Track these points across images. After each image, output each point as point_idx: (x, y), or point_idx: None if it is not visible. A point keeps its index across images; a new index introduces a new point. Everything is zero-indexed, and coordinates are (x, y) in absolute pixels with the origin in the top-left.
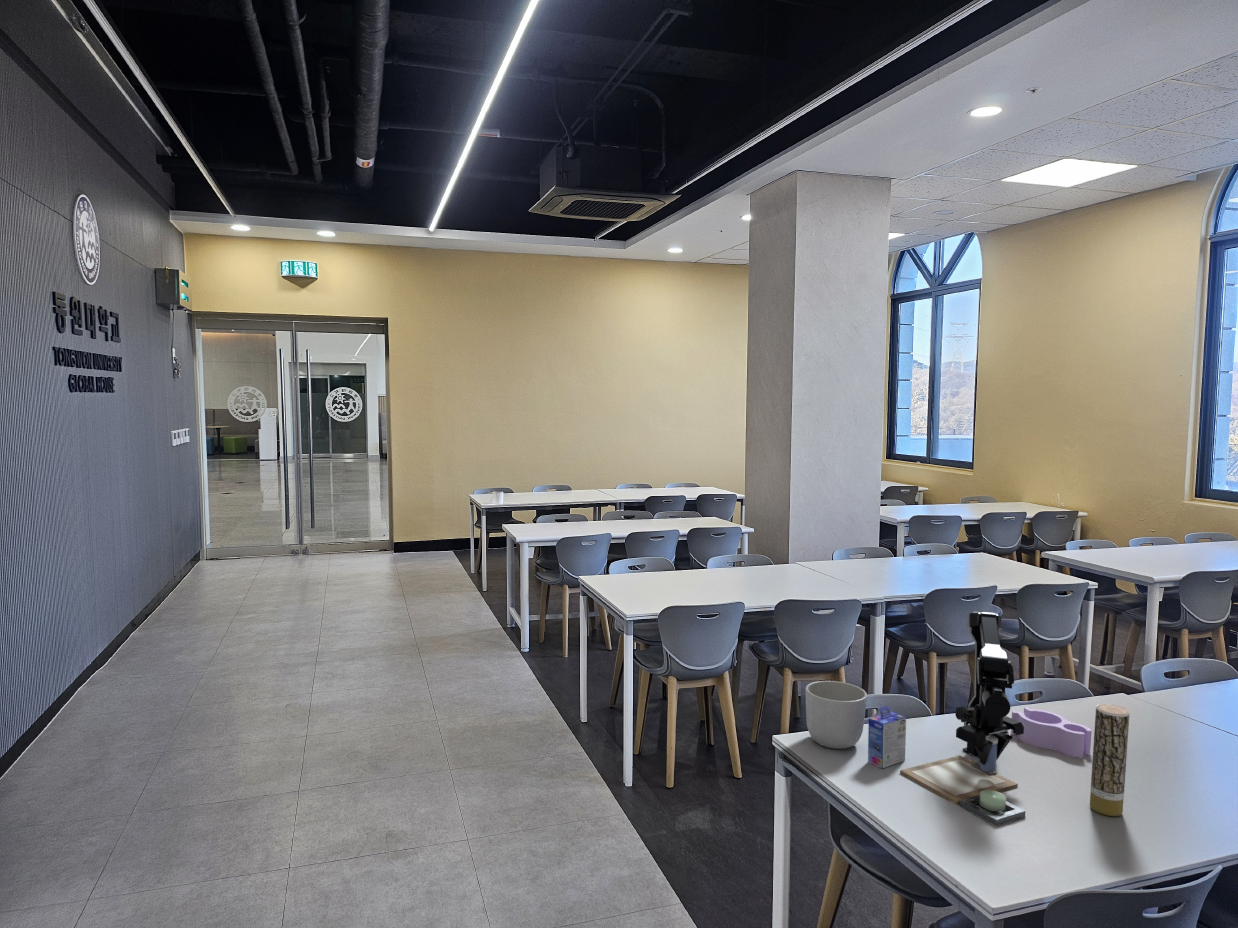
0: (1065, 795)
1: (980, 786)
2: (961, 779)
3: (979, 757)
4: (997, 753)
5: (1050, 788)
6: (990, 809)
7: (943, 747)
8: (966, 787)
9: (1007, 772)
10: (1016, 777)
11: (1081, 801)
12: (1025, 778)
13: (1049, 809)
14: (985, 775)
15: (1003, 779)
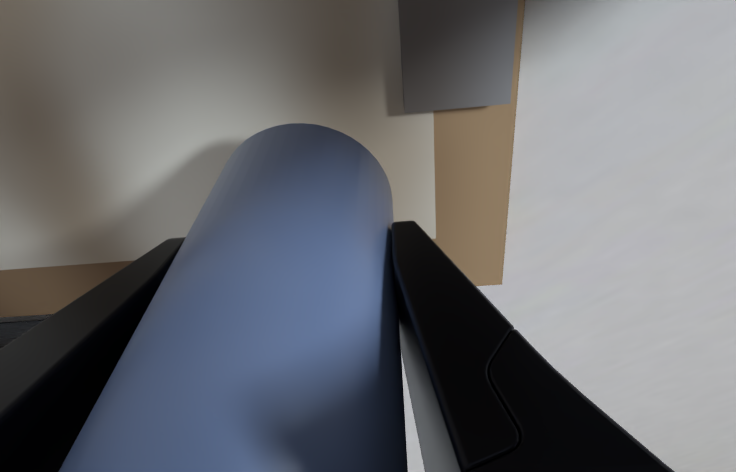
0: (660, 407)
1: (147, 234)
2: (22, 77)
3: (107, 287)
4: (411, 395)
5: (686, 340)
6: None
7: None
8: (4, 213)
9: (714, 37)
10: (667, 151)
11: (657, 455)
12: (715, 189)
13: (411, 458)
14: (351, 89)
15: (460, 198)
